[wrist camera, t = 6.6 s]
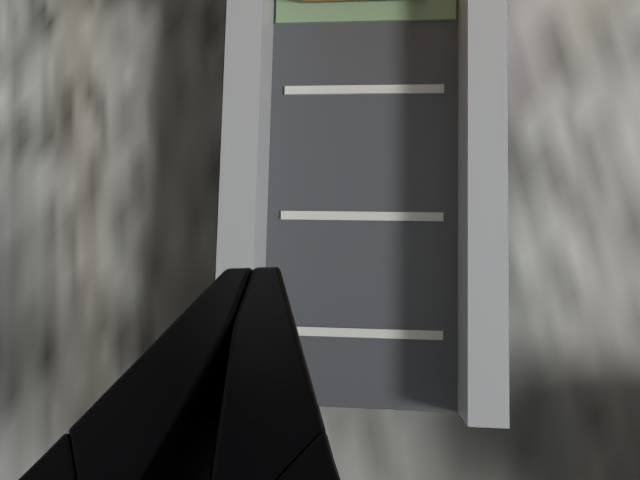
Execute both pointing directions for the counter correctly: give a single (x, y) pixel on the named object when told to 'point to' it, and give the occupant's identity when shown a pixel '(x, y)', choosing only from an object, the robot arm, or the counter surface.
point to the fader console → (376, 192)
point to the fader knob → (323, 0)
